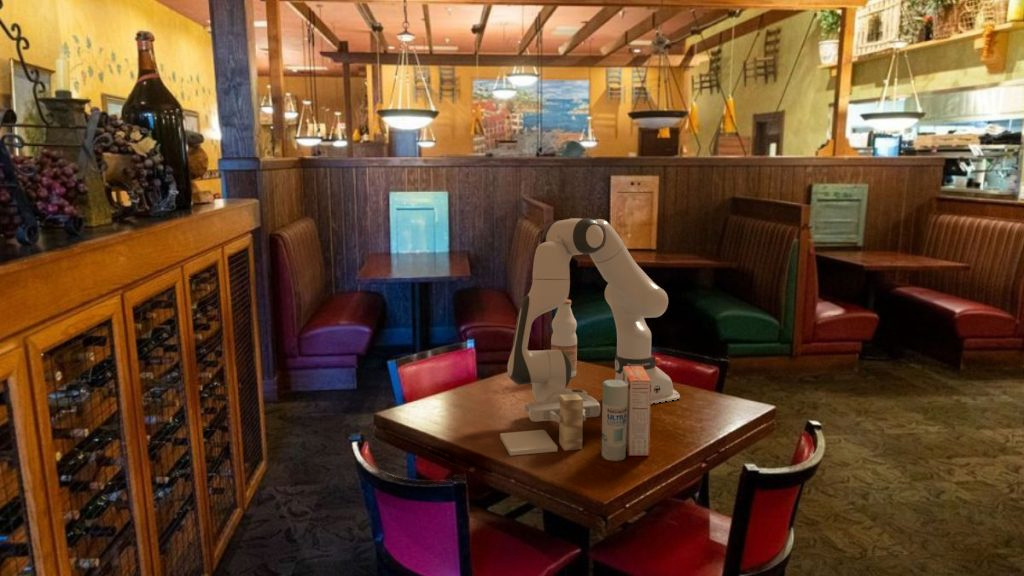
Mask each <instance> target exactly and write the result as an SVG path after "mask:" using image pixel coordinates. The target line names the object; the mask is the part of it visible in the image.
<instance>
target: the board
mask: <svg viewBox="0 0 1024 576" xmlns="http://www.w3.org/2000/svg"><path fill="white" fill-rule="evenodd" d="M499 438H500V441H501V442H502V444H503V445H504V447H505V449H506V450H507V451H506V452H508V454H509V456H520V455H529V454H542V453H551V452H558V445H557V444H556V443H555V441H553V439H552V438H551V437H550V435H549V434H548V432H547V431H546V430H545V429H538V430H535V429H534V430H527V431H526V430H525V431H512V432H502V433H499Z"/></svg>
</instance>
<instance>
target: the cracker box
mask: <svg viewBox="0 0 1024 576" xmlns="http://www.w3.org/2000/svg"><path fill="white" fill-rule="evenodd" d="M623 381H625V382H627V383H628V400H627V428H626V452H627V456H629V457H639V456H640V457H649V456H650V440H651V438H650V436H651V434H650V433H651V428H650V427H651V404H650V402H651V381H650V379H649V377H648V375H647V373H646V372H645V370H644V368H643V366H623Z"/></svg>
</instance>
